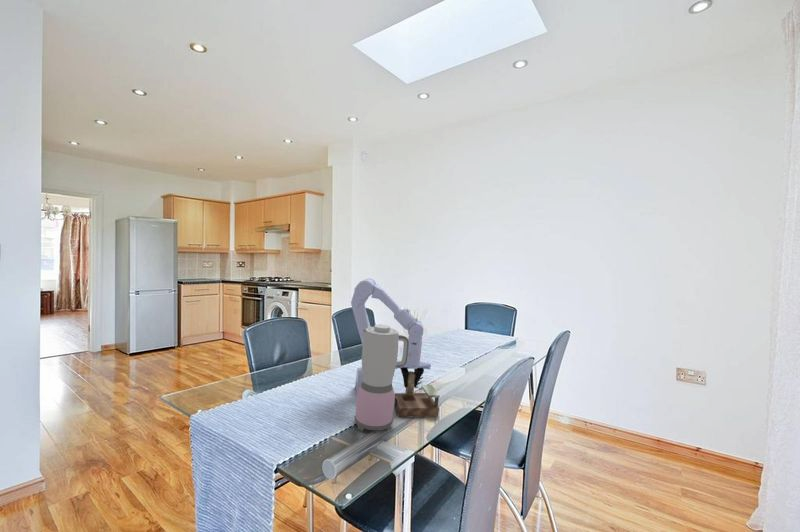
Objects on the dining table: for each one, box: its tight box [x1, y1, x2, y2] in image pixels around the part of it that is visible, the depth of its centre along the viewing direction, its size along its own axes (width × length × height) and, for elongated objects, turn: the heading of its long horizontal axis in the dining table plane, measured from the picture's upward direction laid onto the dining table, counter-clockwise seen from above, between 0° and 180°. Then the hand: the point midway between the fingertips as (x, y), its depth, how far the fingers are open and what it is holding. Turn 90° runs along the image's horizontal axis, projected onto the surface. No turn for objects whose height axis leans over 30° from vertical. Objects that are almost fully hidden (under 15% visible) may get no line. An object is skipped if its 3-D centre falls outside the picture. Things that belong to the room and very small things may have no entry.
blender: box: [354, 324, 409, 432], centre depth 113 cm, size 16×12×32 cm
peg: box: [404, 370, 416, 393], centre depth 138 cm, size 3×3×8 cm
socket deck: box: [394, 384, 440, 418], centre depth 127 cm, size 14×12×7 cm
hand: (410, 386), depth 138 cm, fingers closed on peg, 3 cm apart
